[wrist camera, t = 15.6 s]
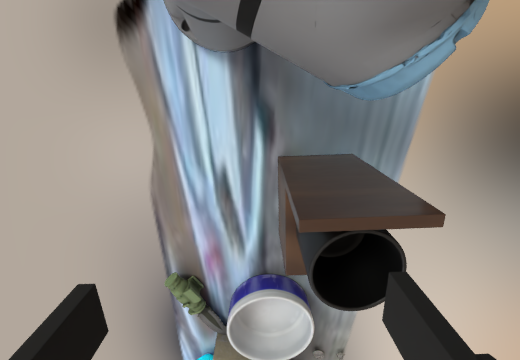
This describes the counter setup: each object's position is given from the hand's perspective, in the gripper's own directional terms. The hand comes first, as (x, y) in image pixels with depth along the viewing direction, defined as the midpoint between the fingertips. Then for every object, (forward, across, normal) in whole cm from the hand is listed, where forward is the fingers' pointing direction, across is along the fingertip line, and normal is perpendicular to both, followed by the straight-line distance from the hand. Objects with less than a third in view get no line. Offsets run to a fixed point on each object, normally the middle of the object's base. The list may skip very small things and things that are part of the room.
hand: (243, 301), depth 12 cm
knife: (+30, -13, -31) cm, 45 cm away
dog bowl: (+32, +2, -31) cm, 44 cm away
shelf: (+32, +10, -8) cm, 34 cm away
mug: (+21, +10, -9) cm, 25 cm away
